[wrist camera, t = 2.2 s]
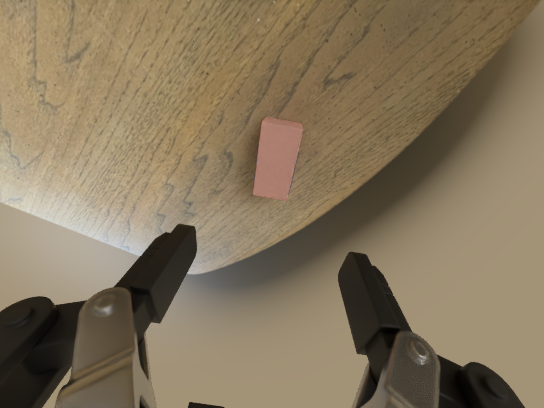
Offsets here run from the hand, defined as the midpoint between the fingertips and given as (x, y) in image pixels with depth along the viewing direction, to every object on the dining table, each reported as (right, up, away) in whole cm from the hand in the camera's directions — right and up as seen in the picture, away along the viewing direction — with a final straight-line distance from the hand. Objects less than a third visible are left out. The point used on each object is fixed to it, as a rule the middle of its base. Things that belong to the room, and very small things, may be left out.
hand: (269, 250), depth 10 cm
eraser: (+1, +8, +10) cm, 13 cm away
